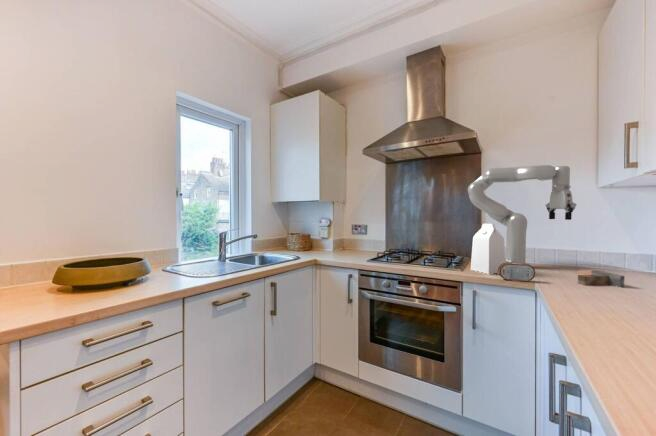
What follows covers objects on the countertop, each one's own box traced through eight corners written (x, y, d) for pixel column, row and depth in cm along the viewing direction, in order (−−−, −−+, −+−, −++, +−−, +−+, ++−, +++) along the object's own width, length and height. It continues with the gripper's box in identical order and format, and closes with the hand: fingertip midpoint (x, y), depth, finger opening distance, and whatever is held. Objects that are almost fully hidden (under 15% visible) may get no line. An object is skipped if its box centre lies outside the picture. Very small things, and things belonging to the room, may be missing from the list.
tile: (599, 274, 137) (617, 274, 139) (578, 270, 147) (595, 269, 148) (599, 279, 137) (617, 279, 139) (578, 275, 147) (595, 274, 149)
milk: (505, 273, 149) (506, 224, 149) (488, 274, 146) (489, 224, 145) (486, 268, 161) (487, 223, 160) (470, 269, 157) (471, 223, 157)
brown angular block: (595, 288, 120) (595, 276, 120) (568, 281, 132) (568, 270, 132) (624, 287, 122) (624, 275, 122) (595, 280, 134) (595, 270, 134)
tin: (533, 280, 133) (533, 263, 133) (536, 282, 130) (536, 264, 130) (497, 278, 137) (497, 261, 137) (499, 280, 134) (499, 262, 134)
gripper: (582, 187, 149) (581, 219, 149) (552, 189, 166) (551, 218, 167) (569, 187, 148) (568, 219, 149) (541, 189, 165) (540, 218, 166)
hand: (559, 219), depth 158 cm, fingers open, 9 cm apart
